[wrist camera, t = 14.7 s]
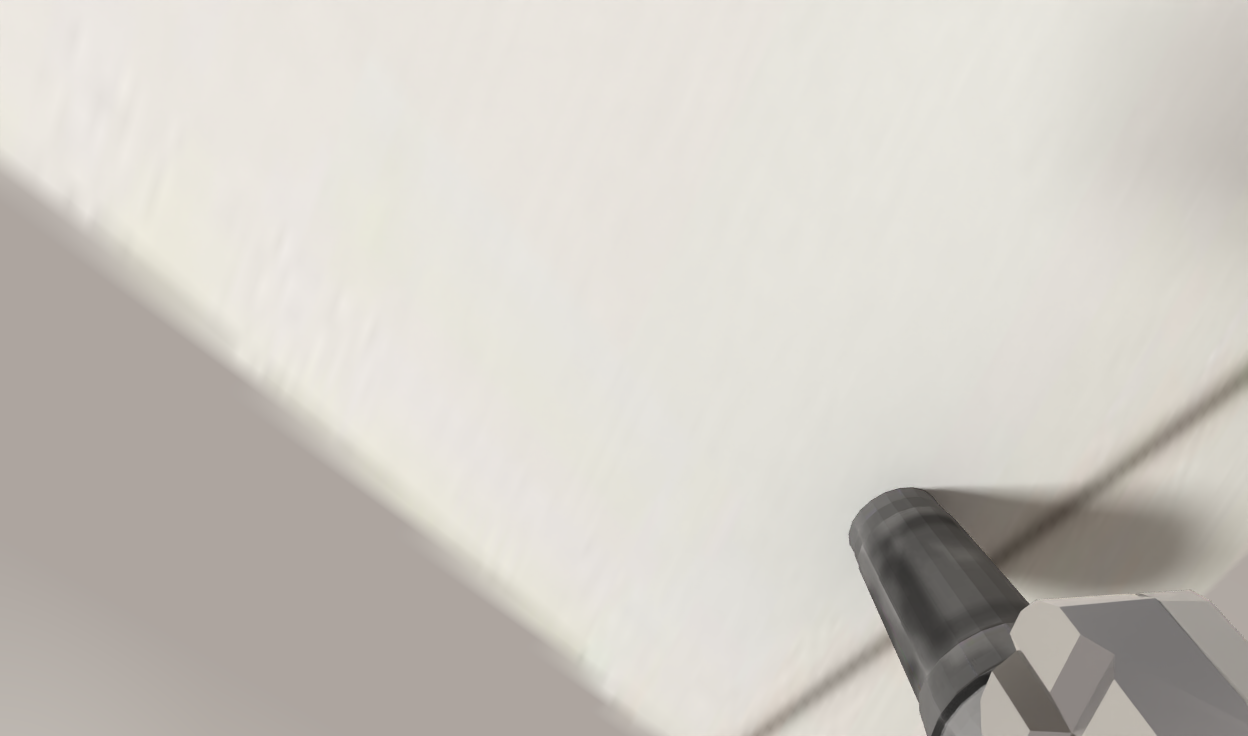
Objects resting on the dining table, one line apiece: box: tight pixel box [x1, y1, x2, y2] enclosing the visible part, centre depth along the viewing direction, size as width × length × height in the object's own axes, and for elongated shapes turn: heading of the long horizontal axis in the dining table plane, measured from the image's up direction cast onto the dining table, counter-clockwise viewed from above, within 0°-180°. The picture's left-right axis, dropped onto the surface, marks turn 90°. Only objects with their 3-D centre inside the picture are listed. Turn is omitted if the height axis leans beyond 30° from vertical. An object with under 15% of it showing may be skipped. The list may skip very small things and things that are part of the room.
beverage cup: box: [849, 488, 1030, 736], centre depth 47 cm, size 7×7×20 cm
